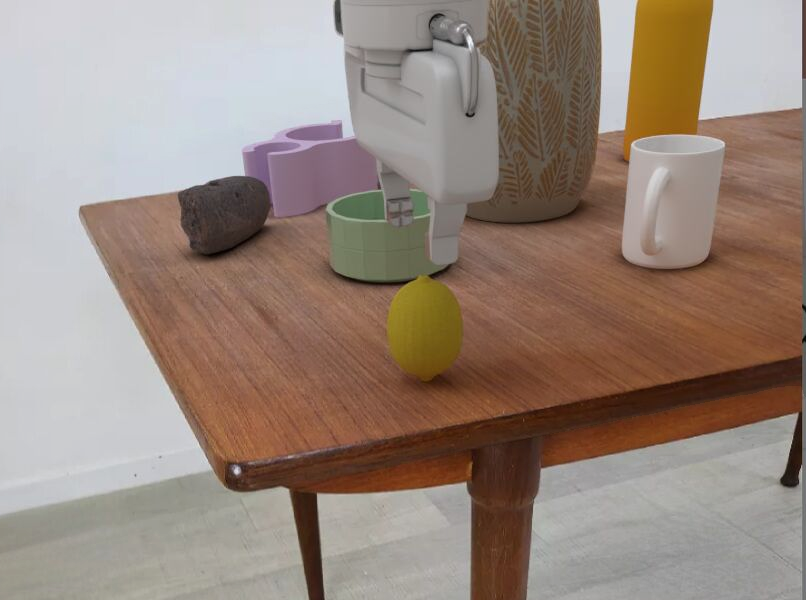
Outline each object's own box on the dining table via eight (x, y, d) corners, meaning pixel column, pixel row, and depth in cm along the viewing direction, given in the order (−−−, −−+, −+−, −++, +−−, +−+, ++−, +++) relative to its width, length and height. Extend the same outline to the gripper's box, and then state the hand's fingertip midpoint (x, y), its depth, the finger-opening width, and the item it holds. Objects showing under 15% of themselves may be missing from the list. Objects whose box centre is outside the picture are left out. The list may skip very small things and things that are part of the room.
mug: (683, 287, 84) (700, 165, 78) (595, 276, 88) (604, 159, 82) (718, 249, 93) (735, 136, 87) (636, 241, 96) (647, 132, 90)
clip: (304, 221, 109) (298, 157, 105) (225, 209, 115) (217, 149, 111) (401, 182, 122) (399, 124, 118) (326, 173, 128) (322, 118, 124)
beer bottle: (607, 160, 126) (628, -105, 110) (652, 148, 131) (679, -108, 114) (662, 170, 120) (694, -109, 104) (708, 158, 124) (745, -112, 108)
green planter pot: (429, 242, 100) (428, 183, 96) (469, 276, 90) (470, 211, 86) (319, 257, 97) (313, 197, 94) (348, 294, 88) (343, 228, 84)
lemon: (404, 363, 74) (400, 260, 69) (472, 370, 72) (472, 265, 67) (378, 392, 69) (372, 285, 65) (450, 400, 68) (448, 291, 63)
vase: (449, 233, 102) (447, -66, 87) (436, 194, 116) (432, -69, 101) (608, 223, 102) (634, -77, 87) (575, 185, 116) (593, -79, 101)
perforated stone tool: (253, 222, 110) (245, 159, 106) (291, 227, 107) (284, 162, 103) (170, 260, 99) (158, 191, 95) (210, 266, 97) (200, 195, 93)
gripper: (532, 19, 49) (521, 281, 57) (414, -4, 66) (418, 202, 73) (417, 28, 48) (422, 295, 56) (326, 2, 64) (339, 211, 72)
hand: (419, 242), depth 65 cm, fingers open, 8 cm apart
